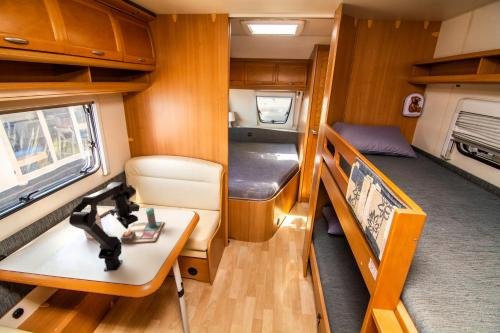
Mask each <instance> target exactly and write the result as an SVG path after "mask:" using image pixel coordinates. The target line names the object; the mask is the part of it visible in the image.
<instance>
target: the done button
mask: <svg viewBox="0 0 500 333" xmlns="http://www.w3.org/2000/svg"><path fill="white" fill-rule="evenodd" d="M125 232H126V233H125V237H130V236H131V233H130V232H128V231H125Z"/></svg>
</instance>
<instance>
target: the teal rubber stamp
mask: <svg viewBox="0 0 500 333" xmlns="http://www.w3.org/2000/svg"><path fill="white" fill-rule="evenodd" d="M145 213H146V217H147V223H149V228H155V227H156V222H157V221H156V215H155V208H154V207H149V208H146V210H145Z"/></svg>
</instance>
